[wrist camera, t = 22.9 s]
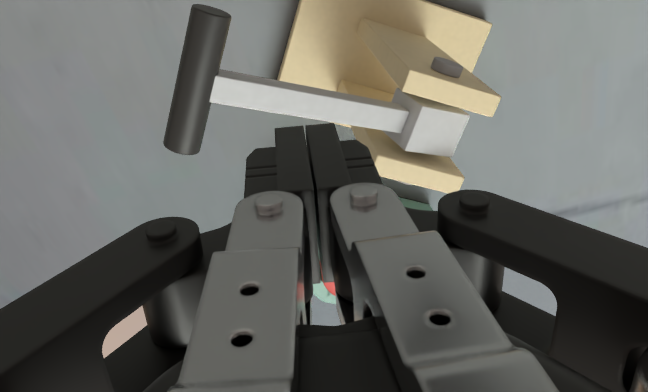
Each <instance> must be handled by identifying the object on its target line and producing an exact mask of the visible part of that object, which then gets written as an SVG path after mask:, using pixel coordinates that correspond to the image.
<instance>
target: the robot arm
mask: <svg viewBox="0 0 648 392" xmlns="http://www.w3.org/2000/svg"><path fill="white" fill-rule="evenodd" d="M306 142H307V145H306ZM275 144H276V147H269V148H258V149H255V150H254V151H253V152H252V153H251V154H250V155H249V156H248V157H247V159H246V175H245V177H246V178H245V191H244V199H243V200H241V201H240V202H239V203H238V204H237V206H236V208H235V212H234V216H233V220H232V222H231V223H230V224H228V225H226V226H224V227H221V228H219V229H215V230H212V231H209V232H205V233H201V234H200V232H199V227H198V225H197V224H196V223H195V222H194V221H192V220H190V219H187V218H182V217H165V218H159V219H155V220H151V221H148V222H146V223H143V224H141V225H140V226H138V227H136V228H134V229H133V230H131V231H129V232H128V233H126V234H124V235H123V236H121V237H119V238H118V239H116V240H114V241H113V242H111V243H109V244H108V245H106V246H104V247H103V248H101V249H99V250H98V251H96V252H94V253H93V254H91V255H89V256H88V257H86V258H85V259H83V260H81V261H80V262H78V263H76V264H75V265H73V266H71V267H70V268H68V269H66V270H65V271H63V272H61V273H60V274H58V275H56V276H55V277H53V278H51V279H50V280H48V281H46V282H45V283H43V284H41V285H40V286H38V287H36V288H35V289H33V290H31V291H30V292H28V293H26V294H25V295H23V296H21V297H20V298H18V299H16V300H15V301H13V302H11V303H10V304H8V305H6V306H5V307H3V308H1V309H0V392H648V248H646V247H643V246H640V245H638V244H635V243H632V242H629V241H626V240H623V239H621V238H618V237H615V236H612V235H609V234H606V233H604V232H601V231H598V230H595V229H592V228H589V227H587V226H584V225H581V224H578V223H575V222H573V221H570V220H567V219H564V218H561V217H558V216H556V215H553V214H550V213H547V212H544V211H541V210H539V209H536V208H533V207H530V206H527V205H524V204H522V203H519V202H516V201H513V200H510V199H507V198H505V197H502V196H499V195H496V194H493V193H490V192H486V191H480V190H460V191H455V192H451V193H449V194H447V195H445V196H443V197H442V198H441V199H440V200H439V203H438V211H428V210H418V209H412V208H408V207H404V206H403V204H402V202H401V201H400V199H399V197H398V196H397V194H396V193H395V191H394V190H392V189H391V188H389V187H387V186H384V185H383V183H382V181H381V178H380V176H379V173H378V171H377V168H376V166H375V163H374V161H373V158H372V156H371V153H370V151H369V148H368V147H367V146H365V145H364V144H362V143H361V142H359V141H358V140H348V141H339V138H338V134H337V131H336V128H335V124H334V123H328V124H317V125H306V139H305V133H304V127H303V126H294V127H283V128H275ZM318 249H319V254H318ZM319 256H320V262H321V269H322V275H323V282H324V283H327V282H334V284H335V295H336V308H337V312H338V315H339V319H340V322H341V325H339V326H321V325H312V306H311V298H312V295H313V284H319V283H321V281H320V268H319ZM504 267H507V268H509V269H511V270H513V271H516V272H518V273H520V274H523V275H525V276H527V277H529V278H532V279H534V280H536V281H538V282H541V283H542V284H544V285H545V286H547V287H548V288H549V289H550V290H551V291H552V292H553V294H554V296H555V298H556V300H557V312H556V316H553V315H551V314H549V313H547V312H545V311H543V310H541V309H539V308H537V307H535V306H532V305H530V304H528V303H526V302H524V301H522V300H520V299H518V298H516V297H513V296H511V295H509V294H507V293H505V292H503V291H502V284H503V276H504ZM142 305H143V309H144V313H145V317H146V321H147V326H146V327H144V328H143V329H142V330H141V331H139V332H138V333H137V334H136V335H134V336H133V337H131V338H130V339H129V340H128V341H127V342H125V343H124V344H122V345H121V346H120V347H119V348H117V349H116V350H115V351H113V352H112V353H111V354H109V355H108V356H107V357H106V358H103V355H102V345H103V341H104V339H105V337H106V335H107V334H108V332H109V330H111V329H112V328H113V327H114V326H115V325H116V324H118V323H119V322H120V321H121V320H123V319H124V318H126V317H127V316H128V315H130V314H131V313H132V312H134V311H135V310H137V309H138V308H139V307H140V306H142Z"/></svg>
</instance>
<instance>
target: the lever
mask: <svg viewBox="0 0 648 392" xmlns="http://www.w3.org/2000/svg"><path fill="white" fill-rule="evenodd" d="M230 21H231V15H230V14H228V13H226V12H224V11H222V10H220V9H217V8H214V7H210V6H206V5H201V4H193V5H192V7H191V12H190V17H189V22H188V27H187V31H186V36H185V41H184V46H183V51H182V55H181V60H180V65H179V70H178V75H177V79H176V84H175V89H174V94H173V99H172V103H171V108H170V113H169V118H168V123H167V127H166V132H165V137H164V142H163V143H164V146H165V147H166V148H167V149H169V150H171V151H173V152H175V153H179V154H184V155H194V154H197V153H198V152H199V151H200V148H201V143H202V139H203V135H204V131H205V127H206V122H207V118H208V114H209V110H210V106H211V103H217V104H223V105H229V106H235V107H242V108H248V109H254V110H260V111H266V112H272V113H279V114H285V115H291V116H297V117H303V118H309V119H316V120H322V121H328V122H334V123H340V124H346V125H353V126H359V127H365V128H371V129H377V130H382V131H383V132H384V133H385V134H386V135H388V136H389V137H390V138H391V139H392V140H393V141H394V142H396V143H397V144H398V145H399V146H400V147H401V148H402V149H404V150H405V151H409V152H416V153H423V154H430V155H437V156H444V157H452V156H453V154H454V152H455V149H456V147H457V145H458V143H459V140H460V138H461V136H462V133H463V131H464V129H465V126H466V124H467V122H468V120H469V117H470V115H469V114H467V113H466V112H464V111H463V110H461V109H460V108H458V107H454V106H451V105H447V104H444V103H440V102H437V101H433V100H430V99H427V98H423V97H420V96H416V95H413V94H409V93H406V92H402V91H401V89H400V88H396V90H395V93H394V96H393V98H392V101H391V102H388V101H382V100H377V99H372V98H367V97H362V96H356V95H351V94H346V93H341V92H336V91H330V90H325V89H320V88H315V87H310V86H304V85H299V84H294V83H289V82H284V81H278V80H273V79H268V78H263V77H258V76H252V75H247V74H242V73H237V72H232V71H226V70H221V69H219V68H220V64H221V59H222V55H223V51H224V47H225V43H226V38H227V34H228V30H229V26H230Z"/></svg>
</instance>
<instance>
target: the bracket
mask: <svg viewBox="0 0 648 392" xmlns="http://www.w3.org/2000/svg"><path fill="white" fill-rule="evenodd" d="M491 27H492V23H490V22H488V21H486V20H483V19H480V18H477V17H474V16H471V15H468V14H465V13H462V12H459V11H456V10H453V9H450V8H447V7H444V6H441V5H438V4H435V3H432V2H429V1H426V0H299V4H298V8H297V11H296V15H295V18H294V22H293V25H292V29H291V32H290V36H289V39H288V43H287V46H286V50H285V54H284V57H283V61H282V64H281V68H280V71H279V75H278V78H277V80H278V81H284V82H289V83H294V84H299V85H304V86H310V87H315V88H320V89H325V90H330V91H336V92H341V93H346V94H351V95H356V96H362V97H367V98H372V99H377V100H382V101H388V102H391V101H392V98H393V96H394V93H395V90H396V88H400V89H401V91H402V92H406V93H409V94H413V95H416V96H420V97H423V98H427V99H430V100H433V101H437V102H440V103H444V104H447V105H451V106H454V107H458V108H461V109H465V110H468V111H471V112H475V113H478V114H482V115H485V116H489V117H493V115H494V113H495V110H496V108H497V106H498V104H499V102H500V99H501V96H500V95H498V94H497V93H496V92H495V91H493V90H492V89H491V88H490V87H488V86H487V85H486V84H484V83H483V82H482V81H481V80H479V79H478V78H477V77H476V76H474V75H473V74H472V71H473V69H474V67H475V64H476V62H477V60H478V57H479V55H480V53H481V50H482V48H483V46H484V43H485V41H486V38H487V36H488V34H489V31H490V29H491ZM327 122H328V121H327ZM331 123H334V122H331ZM335 124H339V125H342V126H346V127H350V128H352V131H353V133H354V136H355V138H356V140H358V141H359V142H361V143H362V144H364V145H365V146H367V147H368V148H369V151H370V153H371V156H372V158H373V161H374V163H375V166H376V168H377V171H378V173H379V176H381V177H385V178H389V179H393V180H396V181H398V182H400V183H403V184H407V185H417V186H421V187H425V188H429V189H433V190H437V191H441V192H445V193H451V192H455V191H459V189H460V187H461V185H462V183H463V180H464V176H463V175H462V173H461V172H460V171H459V169H458V168H457V167H456V165H455V164H454V163H453V162H452V160H451V159H450V158H449V157H444V156H437V155H430V154H423V153H416V152H409V151H405V150H404V149H402V148H401V147H400V146H399V145H398V144H397V143H396V142H394V141H393V140H392V139H391V138H390V137H389V136H388V135H386V134H385V133H384V132H383V131H382V130H377V129H371V128H365V127H359V126H353V125H346V124H340V123H335Z"/></svg>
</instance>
